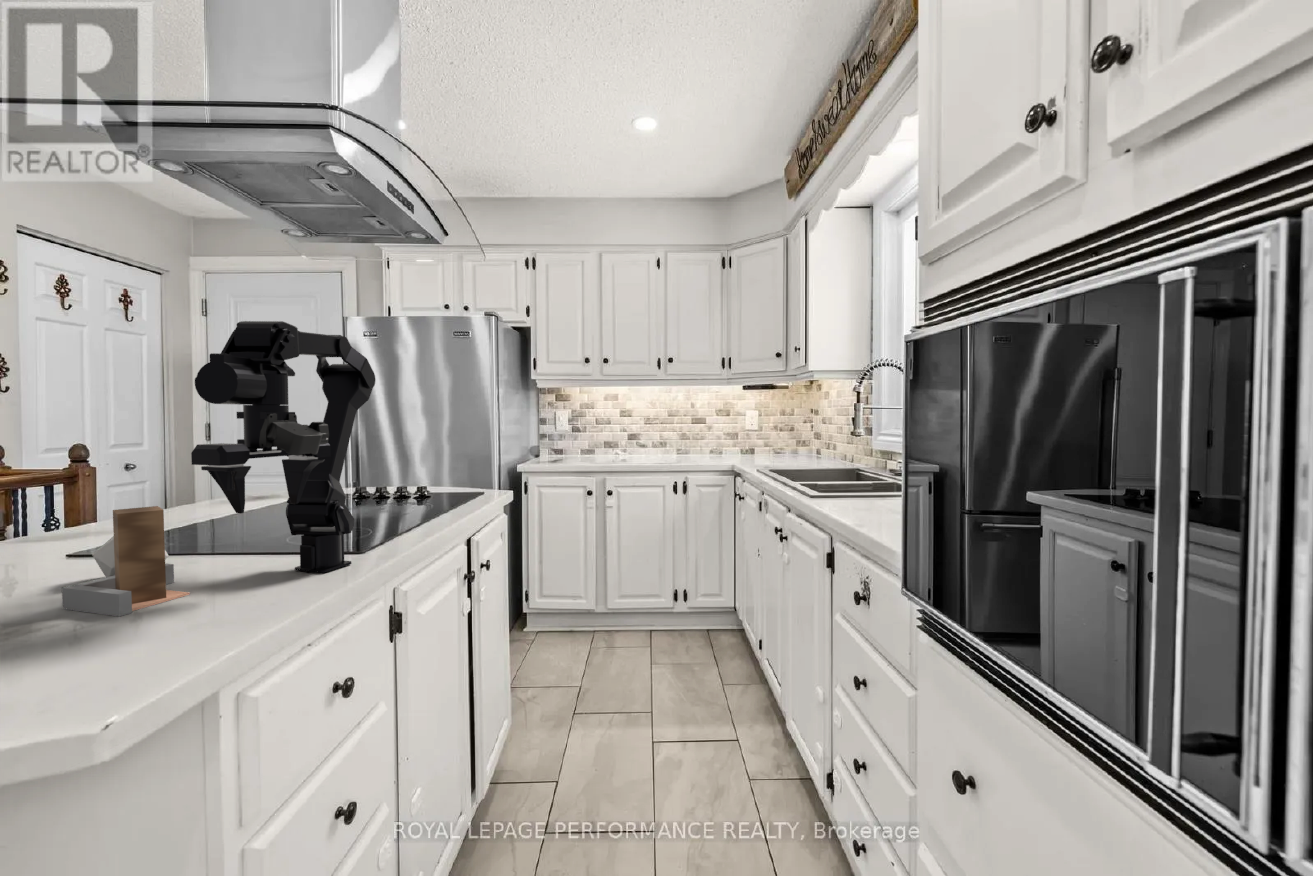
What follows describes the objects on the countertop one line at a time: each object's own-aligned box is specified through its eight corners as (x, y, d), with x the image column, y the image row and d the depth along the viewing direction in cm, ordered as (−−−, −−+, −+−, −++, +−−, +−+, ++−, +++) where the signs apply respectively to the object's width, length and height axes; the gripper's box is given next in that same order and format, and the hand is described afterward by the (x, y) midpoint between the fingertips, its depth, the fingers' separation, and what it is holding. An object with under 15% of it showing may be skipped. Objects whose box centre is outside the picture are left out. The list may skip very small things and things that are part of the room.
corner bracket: (167, 581, 96) (166, 563, 96) (219, 587, 93) (218, 568, 93) (62, 608, 83) (61, 587, 83) (119, 616, 80) (118, 594, 80)
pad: (150, 590, 91) (150, 588, 91) (189, 594, 89) (189, 592, 89) (89, 606, 84) (88, 604, 84) (130, 611, 82) (130, 609, 82)
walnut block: (160, 590, 90) (157, 506, 90) (166, 597, 87) (163, 509, 86) (115, 598, 86) (112, 510, 86) (120, 606, 83) (117, 514, 82)
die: (114, 592, 92) (161, 538, 96) (66, 565, 92) (115, 512, 96) (147, 596, 100) (189, 546, 103) (102, 571, 100) (146, 521, 103)
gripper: (250, 404, 78) (253, 522, 79) (357, 406, 96) (359, 501, 97) (186, 404, 81) (190, 517, 82) (302, 405, 99) (304, 498, 99)
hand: (268, 508), depth 90 cm, fingers open, 9 cm apart
